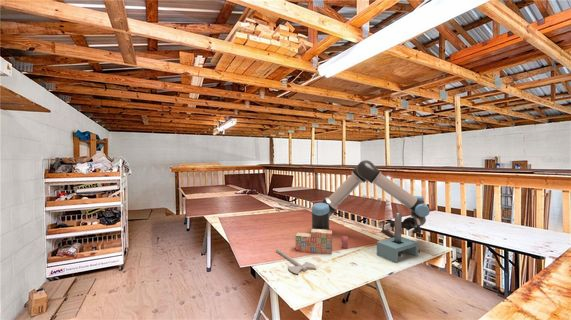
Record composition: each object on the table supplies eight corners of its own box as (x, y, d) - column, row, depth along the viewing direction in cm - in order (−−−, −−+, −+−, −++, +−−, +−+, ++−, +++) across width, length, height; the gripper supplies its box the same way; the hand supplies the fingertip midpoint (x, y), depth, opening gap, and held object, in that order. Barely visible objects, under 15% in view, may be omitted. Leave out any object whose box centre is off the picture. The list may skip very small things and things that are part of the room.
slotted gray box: (420, 258, 142) (420, 250, 141) (416, 258, 141) (417, 250, 141) (382, 231, 180) (383, 225, 180) (380, 232, 180) (380, 225, 180)
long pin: (396, 256, 135) (397, 214, 135) (392, 253, 139) (393, 212, 138) (402, 256, 136) (403, 213, 135) (398, 253, 139) (399, 212, 139)
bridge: (395, 262, 127) (395, 248, 127) (376, 254, 138) (376, 241, 137) (417, 255, 137) (418, 242, 137) (398, 248, 148) (398, 235, 147)
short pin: (342, 248, 147) (342, 238, 147) (340, 246, 150) (341, 236, 150) (348, 248, 147) (348, 237, 147) (346, 246, 151) (346, 236, 150)
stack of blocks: (295, 251, 143) (295, 230, 143) (297, 247, 149) (297, 227, 149) (331, 254, 138) (331, 233, 138) (332, 250, 144) (332, 230, 144)
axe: (267, 254, 139) (267, 250, 139) (287, 250, 146) (287, 246, 146) (295, 277, 113) (295, 272, 113) (318, 270, 120) (318, 265, 120)
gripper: (433, 234, 141) (420, 242, 126) (391, 224, 159) (375, 231, 145) (433, 221, 140) (420, 228, 126) (391, 213, 159) (375, 219, 145)
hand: (396, 230), depth 136 cm, fingers open, 13 cm apart
